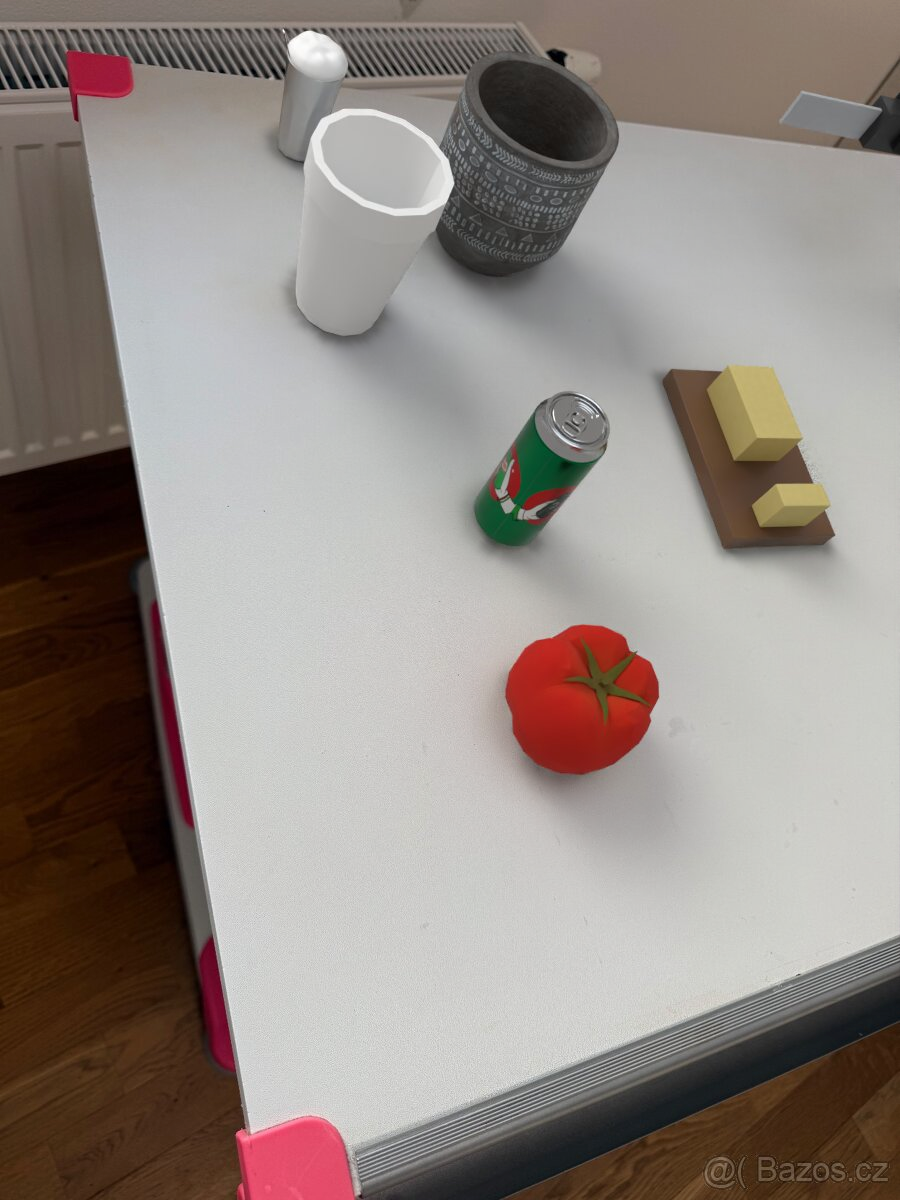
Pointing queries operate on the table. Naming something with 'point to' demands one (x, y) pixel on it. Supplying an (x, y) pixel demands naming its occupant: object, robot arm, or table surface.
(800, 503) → the butter pat
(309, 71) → the milkshake
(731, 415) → the butter stick
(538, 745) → the tomato
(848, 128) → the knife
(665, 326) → the table surface
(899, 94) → the robot arm
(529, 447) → the soda can
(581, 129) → the planter
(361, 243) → the foam cup
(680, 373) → the board
